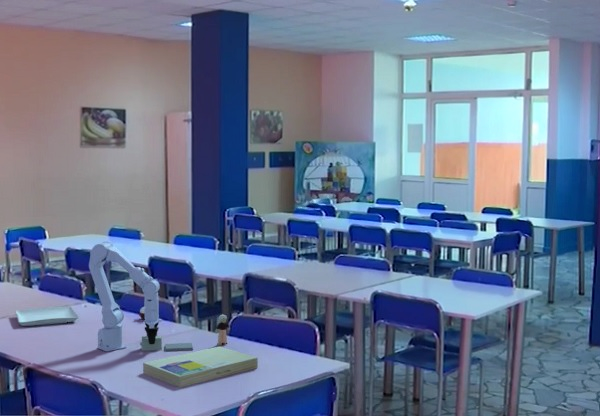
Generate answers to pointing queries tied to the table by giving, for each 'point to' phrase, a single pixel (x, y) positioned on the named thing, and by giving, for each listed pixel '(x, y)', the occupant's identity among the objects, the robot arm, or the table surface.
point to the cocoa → (142, 313)
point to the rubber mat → (178, 346)
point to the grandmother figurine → (222, 330)
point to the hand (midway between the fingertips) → (151, 341)
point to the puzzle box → (199, 366)
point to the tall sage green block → (151, 346)
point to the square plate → (46, 316)
